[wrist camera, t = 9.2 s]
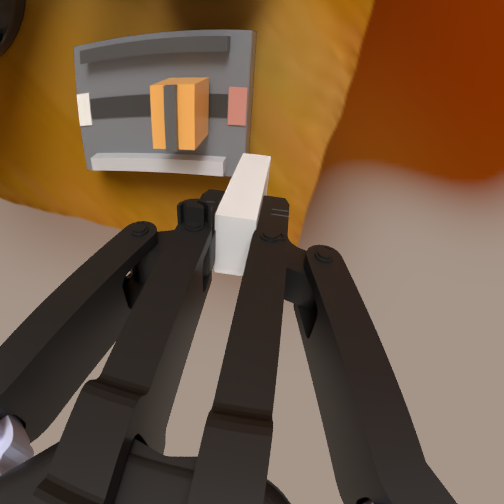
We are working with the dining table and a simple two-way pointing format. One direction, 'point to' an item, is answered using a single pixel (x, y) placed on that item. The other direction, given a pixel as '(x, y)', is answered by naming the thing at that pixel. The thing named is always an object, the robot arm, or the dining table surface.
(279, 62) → the dining table surface
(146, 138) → the breaker panel
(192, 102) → the breaker toggle
